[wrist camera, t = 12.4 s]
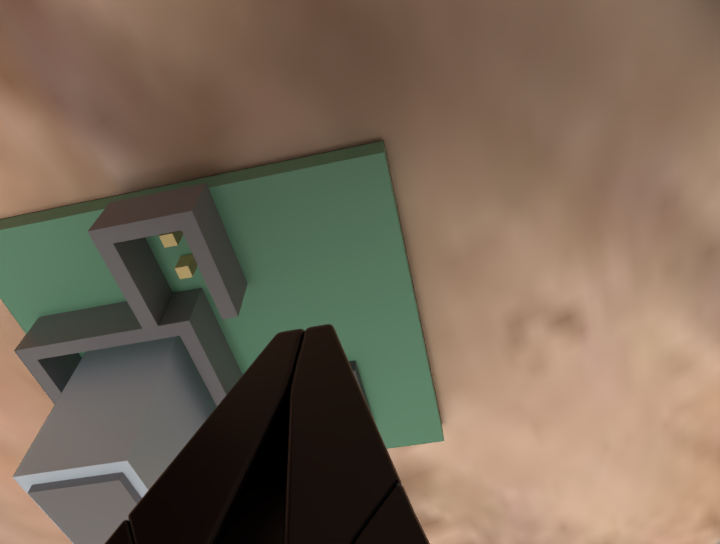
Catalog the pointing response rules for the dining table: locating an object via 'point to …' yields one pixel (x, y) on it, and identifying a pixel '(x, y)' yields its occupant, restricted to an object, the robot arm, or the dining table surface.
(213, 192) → the board
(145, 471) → the plug
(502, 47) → the dining table surface
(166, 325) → the grey square frame
